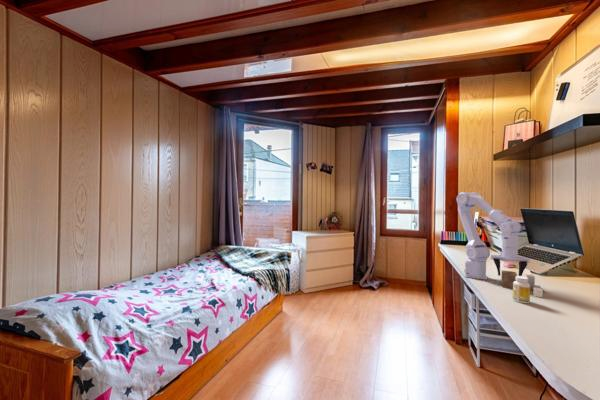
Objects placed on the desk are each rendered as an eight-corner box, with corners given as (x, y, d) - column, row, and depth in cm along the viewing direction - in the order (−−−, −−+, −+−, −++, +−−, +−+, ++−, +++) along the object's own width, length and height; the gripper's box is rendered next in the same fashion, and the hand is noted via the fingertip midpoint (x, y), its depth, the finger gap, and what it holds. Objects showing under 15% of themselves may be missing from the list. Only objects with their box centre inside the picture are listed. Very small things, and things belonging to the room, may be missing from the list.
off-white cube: (534, 296, 118) (534, 289, 118) (533, 294, 120) (533, 287, 120) (542, 297, 117) (542, 290, 117) (541, 295, 119) (541, 288, 119)
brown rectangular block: (502, 287, 129) (502, 272, 129) (501, 284, 134) (501, 270, 133) (516, 289, 126) (517, 274, 126) (515, 286, 131) (515, 271, 131)
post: (520, 289, 126) (520, 276, 126) (517, 284, 133) (518, 272, 133) (543, 292, 122) (544, 279, 122) (539, 287, 129) (540, 274, 129)
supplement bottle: (509, 299, 114) (510, 276, 114) (517, 297, 116) (517, 274, 116) (525, 304, 109) (525, 280, 109) (532, 302, 111) (533, 278, 111)
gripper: (491, 246, 130) (490, 276, 130) (531, 250, 122) (531, 281, 123) (490, 244, 136) (489, 272, 136) (528, 247, 128) (528, 277, 129)
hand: (509, 276), depth 130 cm, fingers open, 7 cm apart
